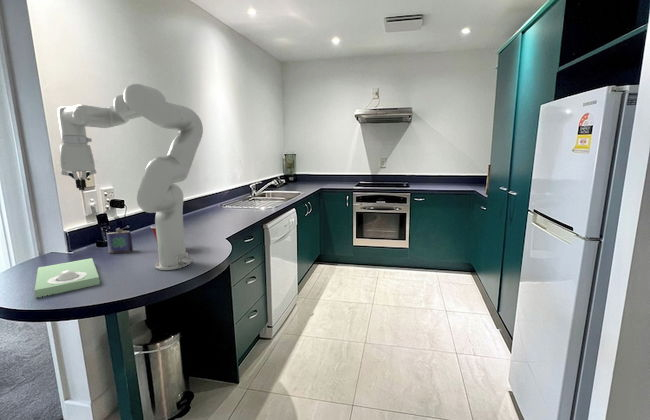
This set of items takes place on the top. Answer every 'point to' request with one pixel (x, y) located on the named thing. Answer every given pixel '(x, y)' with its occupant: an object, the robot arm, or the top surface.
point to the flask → (119, 241)
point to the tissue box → (51, 285)
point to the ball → (67, 275)
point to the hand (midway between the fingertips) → (81, 189)
